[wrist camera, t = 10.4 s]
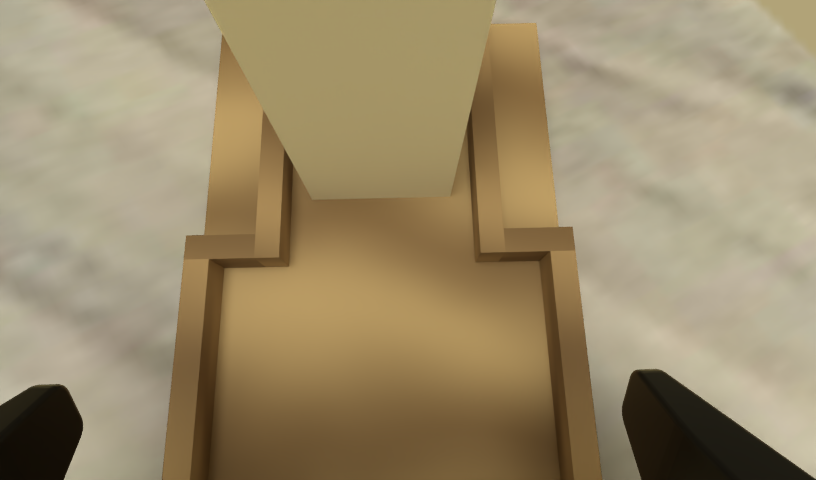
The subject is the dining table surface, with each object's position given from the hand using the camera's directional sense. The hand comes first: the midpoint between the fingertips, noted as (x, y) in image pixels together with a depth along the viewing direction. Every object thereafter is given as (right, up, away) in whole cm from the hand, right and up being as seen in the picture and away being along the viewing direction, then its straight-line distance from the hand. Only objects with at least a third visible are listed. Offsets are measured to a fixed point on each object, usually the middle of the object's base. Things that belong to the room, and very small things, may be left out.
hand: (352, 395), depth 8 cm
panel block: (0, +6, +10) cm, 12 cm away
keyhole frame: (0, +3, +10) cm, 10 cm away
